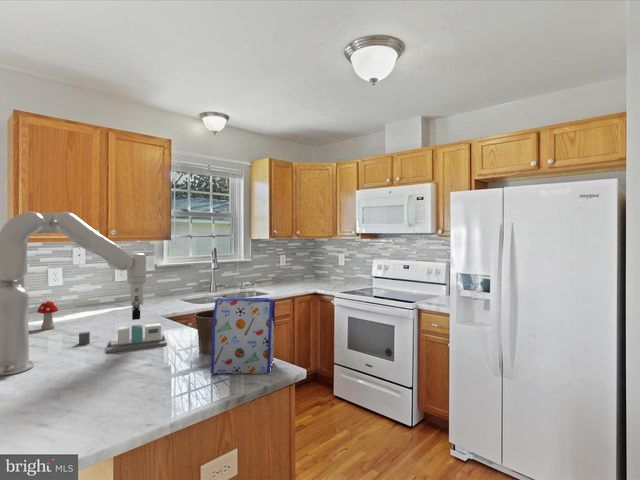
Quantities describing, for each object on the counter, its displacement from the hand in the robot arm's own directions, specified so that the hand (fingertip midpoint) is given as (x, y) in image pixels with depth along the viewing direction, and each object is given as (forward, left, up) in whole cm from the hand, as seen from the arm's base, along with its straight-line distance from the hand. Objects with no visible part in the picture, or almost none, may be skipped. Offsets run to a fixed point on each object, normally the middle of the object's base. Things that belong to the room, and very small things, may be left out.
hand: (136, 317), depth 168 cm
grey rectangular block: (+14, +22, -13) cm, 29 cm away
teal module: (0, 0, -11) cm, 11 cm away
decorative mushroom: (+56, +43, -13) cm, 72 cm away
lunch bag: (-52, -36, -13) cm, 65 cm away
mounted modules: (0, -1, -11) cm, 11 cm away
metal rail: (0, 0, -12) cm, 12 cm away
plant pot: (-24, -30, -13) cm, 41 cm away
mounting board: (0, 0, -13) cm, 13 cm away
